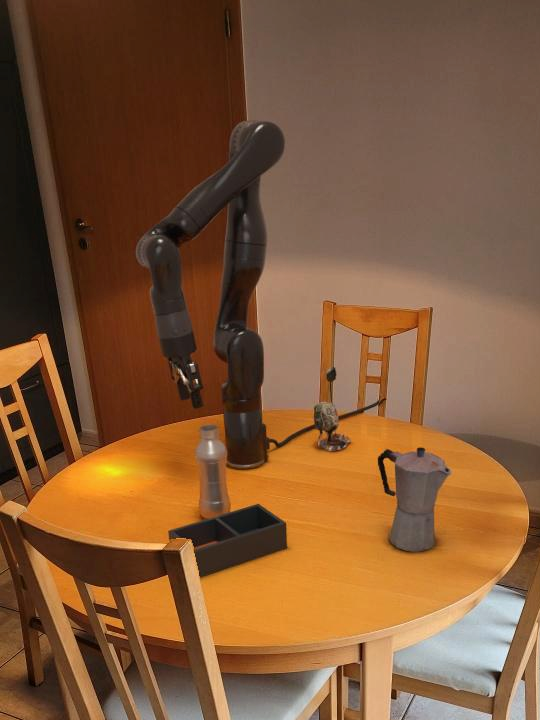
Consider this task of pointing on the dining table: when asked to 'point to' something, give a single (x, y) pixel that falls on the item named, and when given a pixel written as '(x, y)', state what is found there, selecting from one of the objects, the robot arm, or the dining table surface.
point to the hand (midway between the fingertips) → (191, 403)
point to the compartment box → (233, 538)
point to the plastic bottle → (212, 473)
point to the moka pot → (414, 496)
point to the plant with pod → (329, 420)
